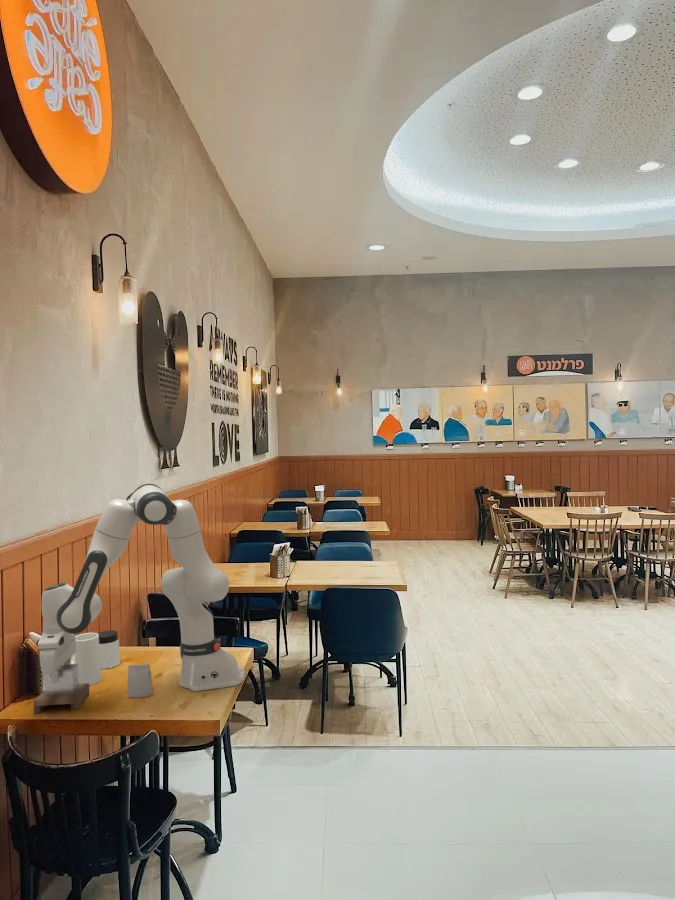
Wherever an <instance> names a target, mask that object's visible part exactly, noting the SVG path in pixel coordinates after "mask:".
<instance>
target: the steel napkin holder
mask: <svg viewBox="0 0 675 900" xmlns="http://www.w3.org/2000/svg"><path fill="white" fill-rule="evenodd" d="M77 666H78V664H75V663H70V664H67V665H64V664H63V665H61V666H60V667H59V668H58V669H57V676H59V681H58V682H57V683H52V682H51V677H50V675H49V674H43V681H44V683H43V684H44V685H43V686H44V690H45V696H46V695H63V694H74V693H75V692H76V691H77V690H78V688H79V683H78V667H77Z"/></svg>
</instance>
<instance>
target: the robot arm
mask: <svg viewBox="0 0 675 900" xmlns="http://www.w3.org/2000/svg"><path fill="white" fill-rule="evenodd" d="M140 521H142V522H143V523H145V524H147V525H152V526H153V525H154V526H157V525H158V526H159V525H161V526H162V525H164V528H165V531H166V536H167V541H168V546H169V550H170V554H171V555H170V556H171V557H172V559H173V560H174V561H175V562H176V563H178V564H179V565H180V566H181V567H175V568H174V567H173V568H169V569H168V570H166V571H164V573H163V575H162V577H161V580H160V588H161V589H160V590H161V591H162V594H163V595H165V596H166V597H167V599H169V601H170V602H171V603H172V605H173V607H174V609H175V611H176V613H177V616H178V621H179V628H180V639H181V641H180V642H179V643H180V645H179V650H180V654H179V655H180V658H181V668H180V674H179V679H178V684H179V686H180V687H182V688H185V689H189V690H190V691H191V692H201V691H207V690H215V689H221V688H222V689H223V688H229V687H235V686H239V685H241V683H242V682H244V680H245V678H246V672H245V669H244V668H241V667H239V665H238V661H237V658H236V657H235V656H234V655H232V654H231V653H229V652H228V651H226V650H224V649H223V648H221V638H220V637H219V638H216V637H215V631H214V630H215V629H214V618H213V617H214V616H213V615H212V613H211V612H210V611H209V610H207V608H205V606H204V605H203V603H213V602H218V601H222V600H224V599H225V597H226V596H227V595H228V593H229V589H230V581H229V578H228V575H227V574H226V573H225V572H224V571H222V570H221V569H219V568H218V566H217V565H215V563H214V562H213V561H212V559H211V557H210V556H209V554H208V552H207V550H206V547H205V545H204V541H203V540H204V539H203V536H202V531H201V527H200V522H199V518H198V516H197V513H196V511H195V508H194V506H193V504H192V503H191V502H190V501H189V500H186V499H176V500H171V499H170V497H169V496H168V495H167V494H166V492H165V491H164V490H163V489H162V488H161V487H160V486H158V485H156V484H153V483H145V484H141V485H140V486H138V487H137V488H136V489H135V490H134V491H133V492H131V493H130V494H129V495H128V496H127V497H126V499H123V498H122V499H121V498H116V499H112V500H110V501H109V502H108V503H107V504H106V506H105V508H104V509H103V511H102V513H101V514H100V517H99V518H98V521H97V524H96V525H95V528H94V531H93V535H92V537H91V540H90V544H89V547H88V550H87V554H86V557H85V561H84V564H83V565H82V568H81V571H80V572H79V575H78V578H77V580H76V582H75V584H74V586H71V585H70V584H69V583H66V582H61V583H56V584H53V585H50V586H48V587H46V588H45V589H44V590H43V591H42V595H41V616H42V618H43V624H42V633H41V636H40V639H39V640H38V642H37V649H38V650H39V664H40V671H41V672H42V674H43V675H44V674H49V675H50V677H51V682H52V683H57V682H58V681H59V676H57V669H58V668H59V667H60V666H61V665H67V664H72V656H73V655H75V654H74V653H75V652H76V648H77V646H76V638H75V636H76V634H77V635H78V634H81V633H82V632H84V631H85V630H86V629H87V628H88V626H89V625H90V624H91V623H92V622H93V621H94V620H95V619H96V618H97V617H98V616H99V615H100V614H101V613H102V610H103V600H102V598H101V596H99V594H98V593H96V592H97V590H98V589H97V588H98V586H99V584H100V583H101V582H100V581H101V579H102V577H104V575H105V573H106V572H107V570H108V569H109V568H110V567H111V566H112V565H113V564H114V563H116V561H118V559H120V557H121V556H122V554H123V553H124V551H125V549H126V547H127V545H128V544H129V541H130V538H131V536H132V532H133V529H135V526H136V525H137V524H138V523H139V522H140ZM202 602H203V603H202Z"/></svg>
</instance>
